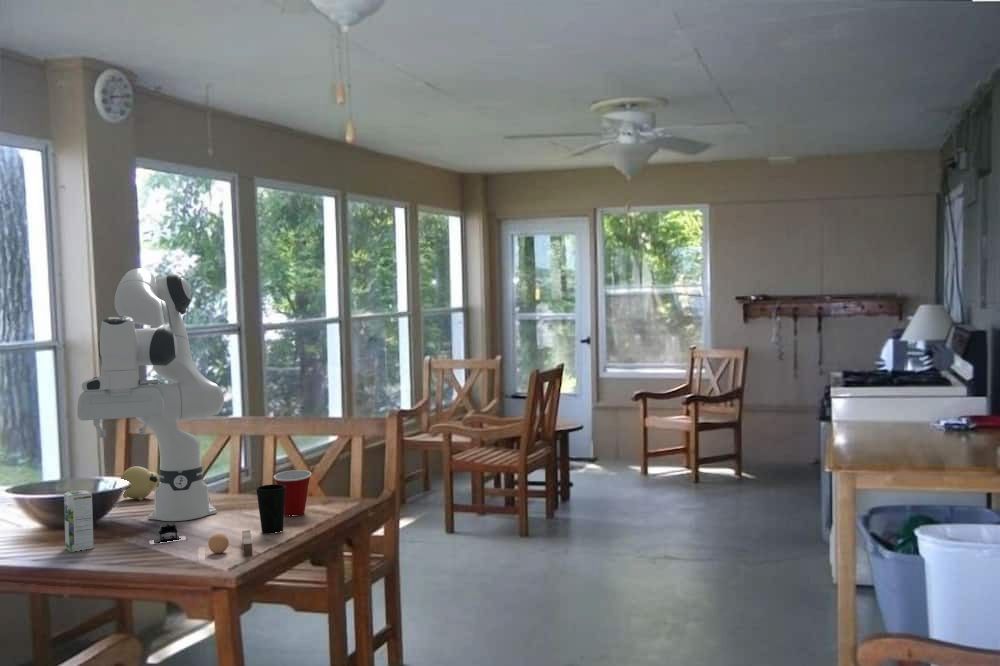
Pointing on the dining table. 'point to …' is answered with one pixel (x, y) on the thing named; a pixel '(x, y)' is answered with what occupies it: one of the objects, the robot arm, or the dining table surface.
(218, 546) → the ball
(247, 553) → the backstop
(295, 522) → the dining table surface
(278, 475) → the plastic cup
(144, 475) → the pale yellow round toy
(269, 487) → the cup
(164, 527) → the black rectangular container
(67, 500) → the syrup box
